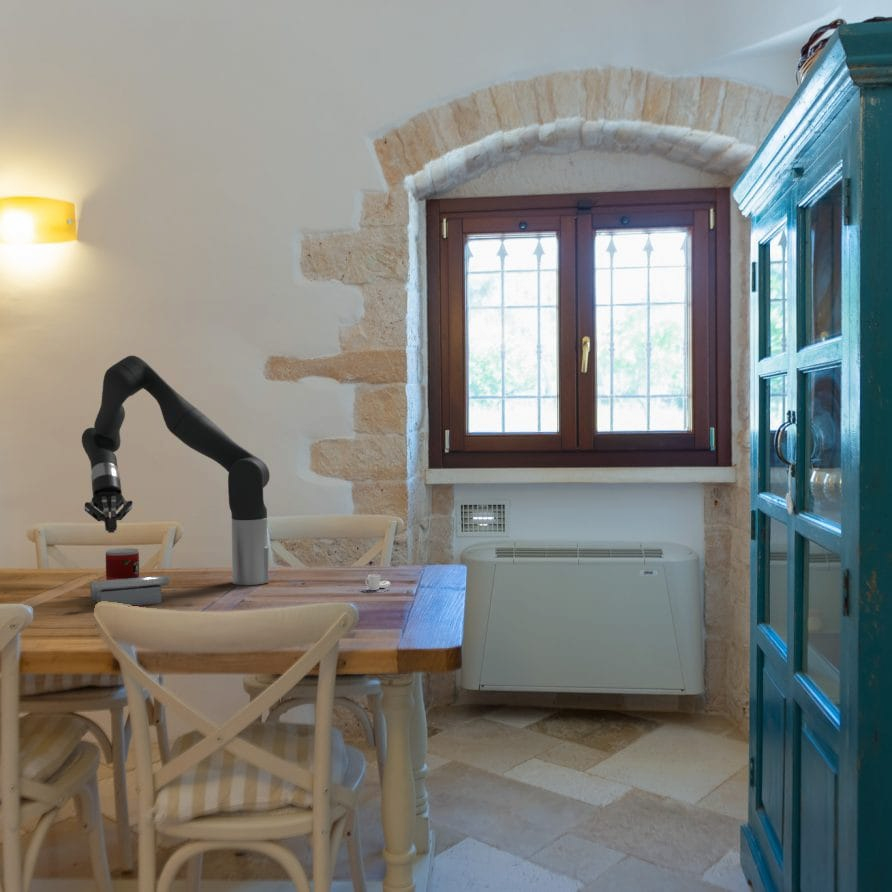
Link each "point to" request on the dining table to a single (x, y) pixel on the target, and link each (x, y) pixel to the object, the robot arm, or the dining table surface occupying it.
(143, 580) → the cradle
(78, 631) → the dining table surface
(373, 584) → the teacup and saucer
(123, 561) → the canned food
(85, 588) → the dining table surface
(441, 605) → the dining table surface
